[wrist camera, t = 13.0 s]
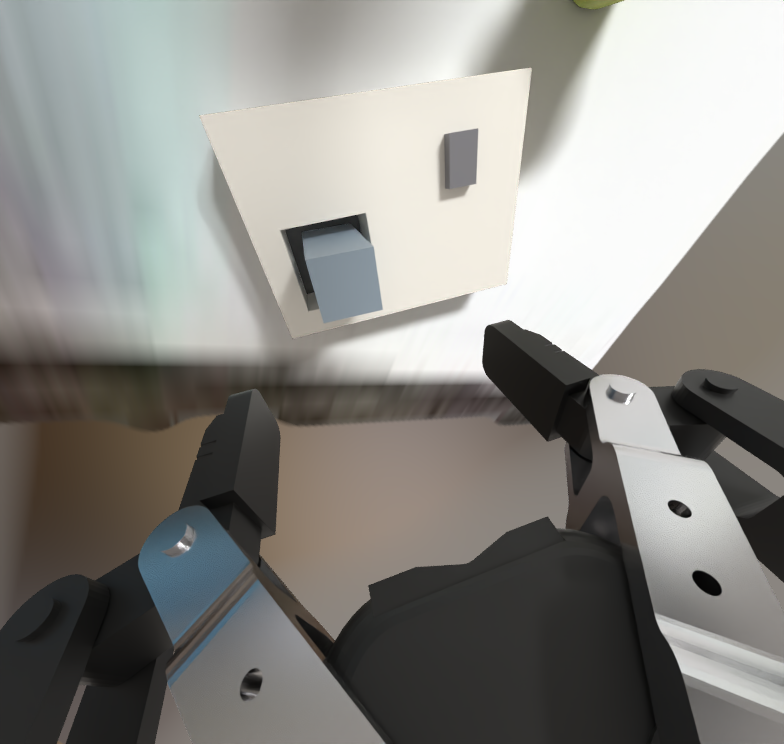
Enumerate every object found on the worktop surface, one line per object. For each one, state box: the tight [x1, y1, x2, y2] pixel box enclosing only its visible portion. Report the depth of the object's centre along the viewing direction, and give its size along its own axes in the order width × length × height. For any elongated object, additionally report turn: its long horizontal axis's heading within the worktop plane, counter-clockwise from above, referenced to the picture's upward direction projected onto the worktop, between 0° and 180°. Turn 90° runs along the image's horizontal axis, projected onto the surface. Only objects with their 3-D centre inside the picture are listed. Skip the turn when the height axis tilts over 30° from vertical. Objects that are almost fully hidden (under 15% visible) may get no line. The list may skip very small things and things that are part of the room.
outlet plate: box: [199, 67, 532, 339], centre depth 22 cm, size 14×20×5 cm
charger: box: [302, 223, 383, 323], centre depth 21 cm, size 4×4×9 cm
